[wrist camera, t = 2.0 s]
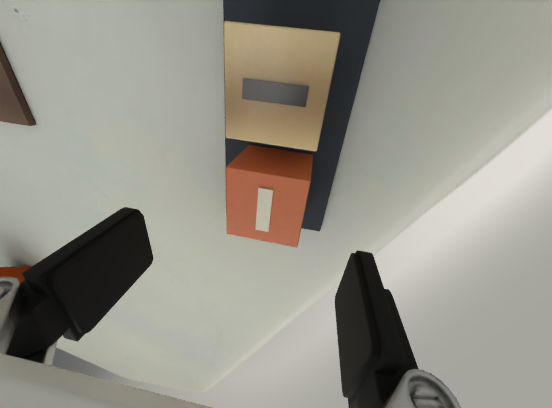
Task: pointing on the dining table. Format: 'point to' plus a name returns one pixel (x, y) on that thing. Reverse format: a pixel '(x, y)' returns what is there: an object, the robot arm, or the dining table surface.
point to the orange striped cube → (267, 194)
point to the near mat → (347, 69)
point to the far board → (12, 97)
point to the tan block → (277, 83)
